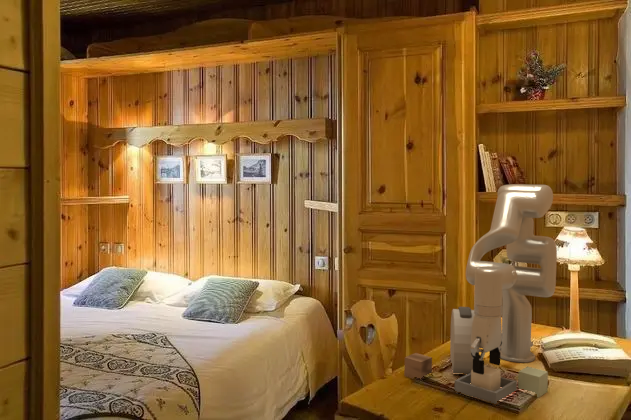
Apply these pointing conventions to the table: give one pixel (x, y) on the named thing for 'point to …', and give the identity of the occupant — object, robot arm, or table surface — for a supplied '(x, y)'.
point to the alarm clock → (461, 340)
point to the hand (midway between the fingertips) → (486, 368)
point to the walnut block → (417, 365)
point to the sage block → (533, 380)
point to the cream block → (487, 379)
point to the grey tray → (475, 391)
